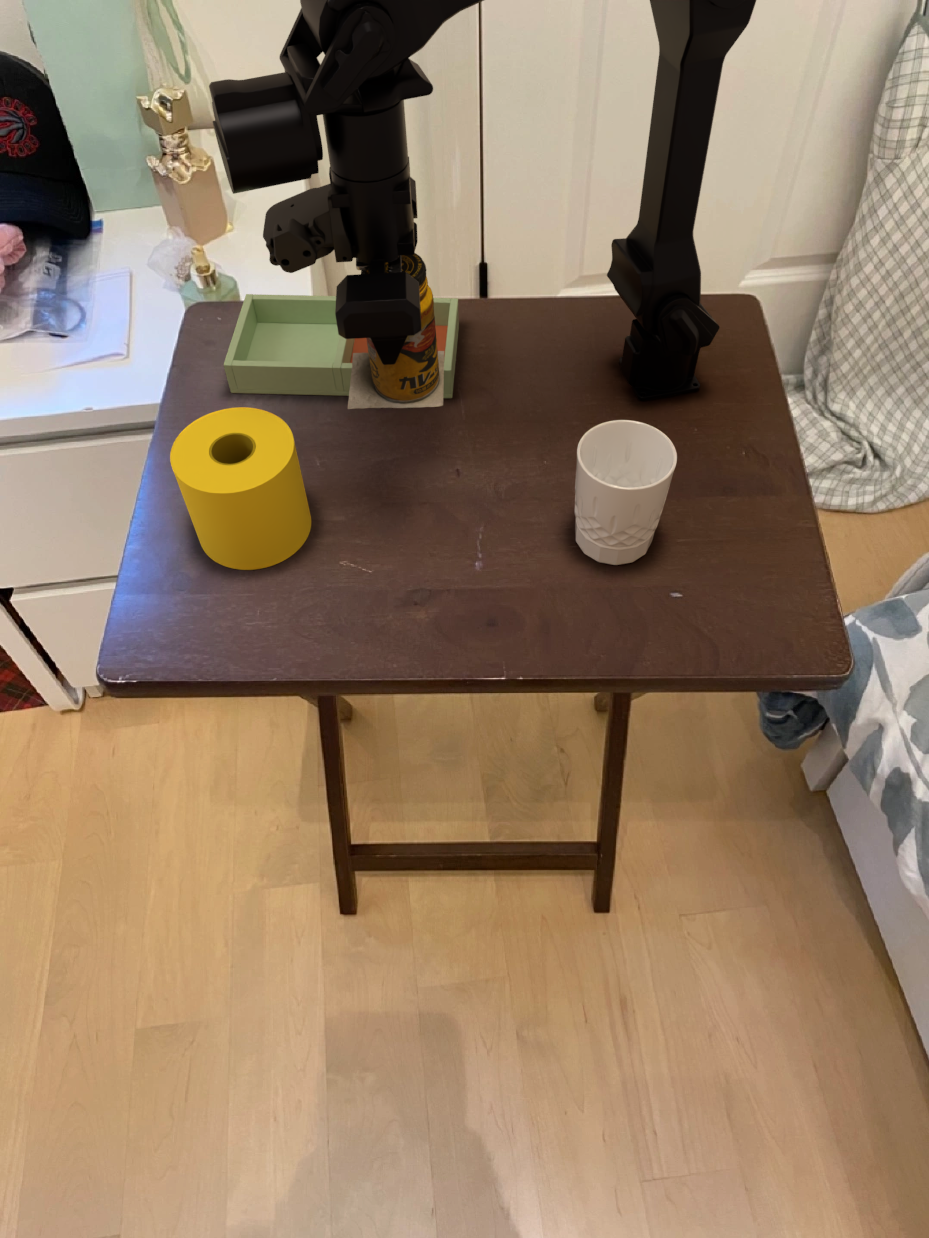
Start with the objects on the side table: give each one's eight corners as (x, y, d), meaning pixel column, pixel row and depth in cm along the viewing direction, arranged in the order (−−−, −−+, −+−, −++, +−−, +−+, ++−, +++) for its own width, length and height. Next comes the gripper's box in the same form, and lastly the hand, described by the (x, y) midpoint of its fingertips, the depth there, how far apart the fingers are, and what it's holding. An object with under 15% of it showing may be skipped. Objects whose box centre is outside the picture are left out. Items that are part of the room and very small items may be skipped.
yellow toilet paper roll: (209, 486, 87) (182, 408, 79) (316, 485, 86) (300, 406, 79) (189, 570, 81) (159, 493, 73) (305, 569, 81) (286, 492, 73)
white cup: (581, 578, 80) (592, 496, 71) (558, 511, 84) (565, 427, 76) (670, 563, 80) (691, 480, 72) (642, 497, 85) (658, 413, 77)
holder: (458, 326, 100) (458, 298, 97) (452, 398, 93) (451, 370, 90) (252, 322, 101) (245, 294, 98) (230, 393, 94) (223, 365, 92)
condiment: (443, 407, 82) (433, 290, 72) (347, 410, 83) (325, 294, 73) (444, 353, 86) (435, 235, 77) (353, 356, 87) (332, 239, 77)
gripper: (267, 105, 73) (301, 280, 86) (246, 240, 62) (288, 418, 75) (409, 98, 73) (422, 274, 86) (413, 232, 62) (427, 411, 75)
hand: (388, 340), depth 81 cm, fingers closed on condiment, 6 cm apart
